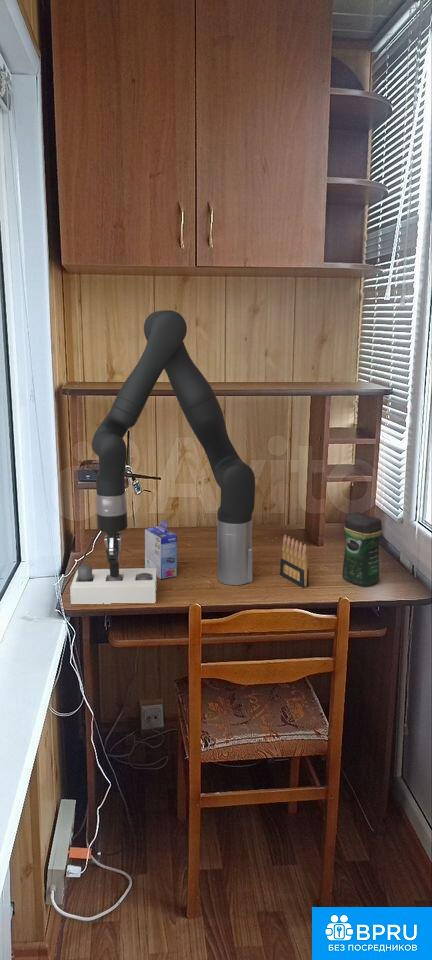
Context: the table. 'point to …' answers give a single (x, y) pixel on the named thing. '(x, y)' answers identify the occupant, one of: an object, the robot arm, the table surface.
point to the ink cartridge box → (161, 551)
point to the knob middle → (115, 578)
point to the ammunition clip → (294, 562)
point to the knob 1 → (85, 573)
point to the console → (115, 587)
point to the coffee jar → (362, 549)
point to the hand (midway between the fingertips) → (114, 575)
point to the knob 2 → (144, 576)
